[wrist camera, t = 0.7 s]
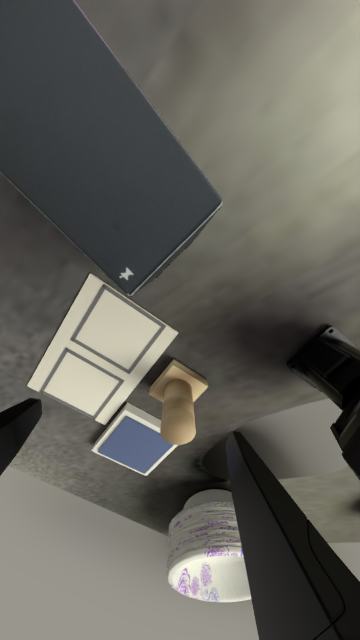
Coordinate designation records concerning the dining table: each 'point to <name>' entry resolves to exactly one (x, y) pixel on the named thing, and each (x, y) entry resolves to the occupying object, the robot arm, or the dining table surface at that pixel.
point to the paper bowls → (207, 550)
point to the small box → (93, 146)
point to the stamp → (178, 401)
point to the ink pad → (134, 440)
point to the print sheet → (100, 351)
